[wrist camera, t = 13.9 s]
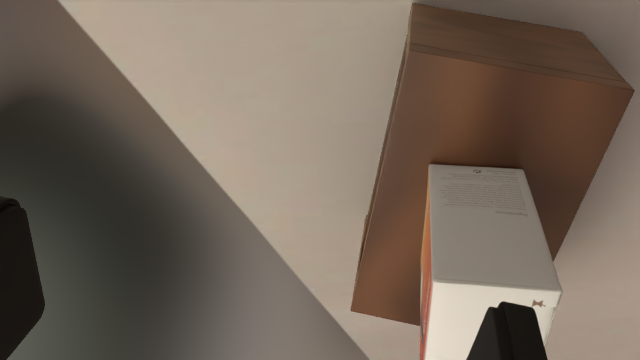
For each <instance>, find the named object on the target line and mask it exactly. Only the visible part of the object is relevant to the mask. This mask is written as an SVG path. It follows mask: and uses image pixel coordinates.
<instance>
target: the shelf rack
mask: <svg viewBox="0 0 640 360" xmlns="http://www.w3.org/2000/svg"><path fill="white" fill-rule="evenodd" d="M633 93H634V89H633V88H632V87H631V86H630V85H629V84H628V83H627V82H626V81H625V80H624V79H623V77H622V76H621V75H620V74H619V73H618V72H617V71H616V70H615V68H614V67H613V66H612V65H611V64H610V63H609V62H608V61H607V60H606V58H605V57H604V56H603V55H602V54H601V53H600V52H599V51H598V50H597V48H596V47H595V46H594V45H593V44H592V43H591V42H590V41H589V39H588V38H587V37H586V36H585V35H584V34H583V33H582V32H577V31H572V30H566V29H560V28H554V27H548V26H543V25H537V24H531V23H525V22H519V21H514V20H508V19H502V18H496V17H490V16H485V15H479V14H473V13H467V12H461V11H456V10H450V9H444V8H438V7H432V6H427V5H421V4H415V3H413V4H412V7H411V12H410V16H409V24H408V34H407V38H406V42H405V47H404V52H403V56H402V61H401V65H400V70H399V75H398V79H397V84H396V88H395V93H394V97H393V102H392V107H391V111H390V116H389V120H388V125H387V130H386V134H385V139H384V143H383V148H382V152H381V157H380V162H379V166H378V171H377V175H376V180H375V185H374V189H373V194H372V198H371V203H370V207H369V212H368V215H366V220H365V224H364V230H363V236H362V243H361V249H360V255H359V261H358V268H357V274H356V280H355V286H354V292H353V299H352V305H351V311H353V312H358V313H362V314H367V315H372V316H376V317H381V318H386V319H390V320H395V321H399V322H404V323H409V324H413V325H418V326H420V321H421V320H420V297H421V263H420V261H421V250H422V240H423V230H424V220H425V211H426V200H427V186H428V167H429V165H430V164H436V165H453V166H473V167H492V168H510V169H522V170H523V171H524V173H525V176H526V179H527V182H528V185H529V188H530V191H531V194H532V197H533V200H534V204H535V206H536V210H537V212H538V216H539V219H540V222H541V225H542V228H543V232H544V235H545V238H546V241H547V244H548V247H549V251H550V254H551V257H552V260H553V261H554V259H555V257H556V255H557V253H558V251H559V249H560V246H561V244H562V242H563V240H564V238H565V236H566V234H567V232H568V230H569V228H570V225H571V223H572V221H573V219H574V217H575V215H576V213H577V211H578V209H579V207H580V204H581V202H582V200H583V198H584V196H585V194H586V192H587V190H588V188H589V185H590V183H591V181H592V179H593V177H594V175H595V173H596V171H597V169H598V167H599V164H600V162H601V160H602V158H603V156H604V154H605V152H606V150H607V148H608V146H609V143H610V141H611V139H612V137H613V135H614V133H615V131H616V129H617V127H618V124H619V122H620V120H621V118H622V116H623V114H624V112H625V110H626V108H627V106H628V103H629V101H630V99H631V97H632V95H633Z"/></svg>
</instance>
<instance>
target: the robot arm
mask: <svg viewBox="0 0 640 360" xmlns="http://www.w3.org/2000/svg"><path fill="white" fill-rule="evenodd" d="M44 306H45V302H44V297H43V292H42V286H41V282H40V277H39V272H38V267H37V262H36V257H35V252H34V248H33V242H32V238H31V233H30V228H29V223H28V218H27V214H26V211H25V210H24V209H23V208H21V207H20V204H19V202H17V200H15V199H12V198H7V197H2V196H0V360H7V358H8V357H9V356H10V355H11V354H12V352H13V351H14V350H15V349H16V348H17V346H18V345H19V344H20V343H21V341H22V340H23V339H24V338H25V337H26V335H27V334H28V333H29V332H30V330H31V329H32V328H33V327H34V326H35V324H36V323H37V322H38V321H39V319H40V318H41V316H42V314H43V311H44ZM466 360H547V356H546V352H545V348H544V344H543V340H542V336H541V332H540V328H539V324H538V320H537V316H536V312H535V310H534V309H533V308H532V307H529V306H524V305H519V304H514V303H509V302H505V301H502V302H501V303H499V305H498V307H497V308H496V307H489V308H488V310H487V311H486V314H485V316H484V319H483V321H482V323H481V326H480V328H479V331H478V333H477V335H476V338H475V340H474V343H473V345H472V347H471V350H470V352H469V355H468V357H467V359H466Z"/></svg>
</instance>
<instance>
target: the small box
mask: <svg viewBox="0 0 640 360" xmlns="http://www.w3.org/2000/svg"><path fill="white" fill-rule="evenodd" d="M420 263H421V297H420V320H421V321H420V360H466V359H467V357H468V355H469V352H470V350H471V347H472V345H473V343H474V340H475V338H476V335H477V333H478V331H479V328H480V326H481V323H482V321H483V319H484V316H485V314H486V311H487V310H488V308H489V307H496V308H497V307H498V305H499V303H501V302H502V301H505V302H509V303H514V304H519V305H524V306H529V307H532V308H533V309H534V310H535V312H536V316H537V320H538V324H539V328H540V332H541V336H542V340H543V344H544V348H545V345H546V341H547V338H548V334H549V331H550V327H551V324H552V321H553V317H554V314H555V311H556V308H557V306H558V304H559V301H560V298H561V295H562V292H563V291H562V287H561V285H560V282H559V279H558V276H557V273H556V269H555V266H554V263H553V260H552V257H551V254H550V251H549V247H548V244H547V241H546V238H545V235H544V232H543V228H542V225H541V222H540V219H539V216H538V212H537V210H536V206H535V204H534V200H533V197H532V194H531V191H530V188H529V185H528V182H527V179H526V176H525V173H524V171H523V170H522V169H510V168H492V167H473V166H453V165H436V164H430V165H429V167H428V186H427V200H426V211H425V220H424V230H423V240H422V250H421V261H420Z"/></svg>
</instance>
